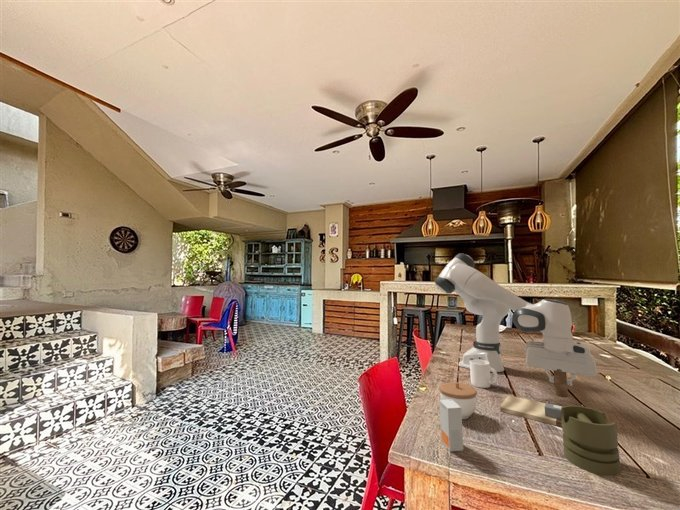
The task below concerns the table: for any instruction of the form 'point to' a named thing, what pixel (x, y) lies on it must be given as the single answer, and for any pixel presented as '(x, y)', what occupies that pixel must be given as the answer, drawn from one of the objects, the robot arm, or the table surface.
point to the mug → (481, 373)
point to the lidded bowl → (460, 396)
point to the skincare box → (451, 425)
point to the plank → (528, 410)
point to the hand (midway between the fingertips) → (560, 383)
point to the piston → (590, 440)
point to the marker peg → (560, 383)
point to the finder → (553, 411)
